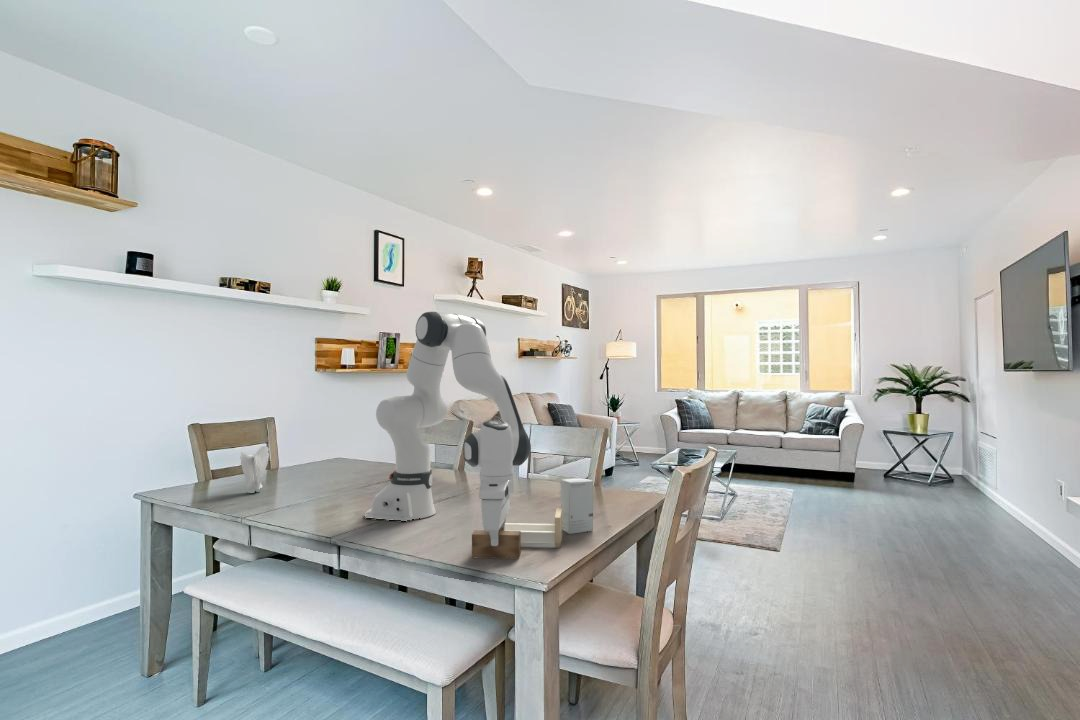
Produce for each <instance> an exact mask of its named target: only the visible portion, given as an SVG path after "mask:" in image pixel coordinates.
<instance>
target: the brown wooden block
mask: <svg viewBox="0 0 1080 720" xmlns="http://www.w3.org/2000/svg"><path fill="white" fill-rule="evenodd" d="M498 537H499V544H498V546H492V545H491V538H490V534H489V532H486V531H485V530H484V529H482V530H481V529H475V530H474V531H473V532H472V533H471V558H472V557H473V559H475V558H474V557H477V558H478V559H512V560H513V559H518V560H519V559H520V557H521V555H522V553H521V552H522V551H521V548H522V547H521V531H499V532H498ZM477 558H476V559H477Z"/></svg>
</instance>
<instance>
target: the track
mask: <svg viewBox="0 0 1080 720" xmlns="http://www.w3.org/2000/svg"><path fill="white" fill-rule="evenodd" d="M555 510H556V511H555V515H554V523H527V522H526V523H523V522H521V523H516V522H514V523H513V522H511V523H510V522H505V531H521V548H545V549H546V548H550V549H551V548H552V549H554V548H555V549H556V548H557V549H559V548H560V549H561V547H562V541H563V530H562V508H561V507H556V509H555Z"/></svg>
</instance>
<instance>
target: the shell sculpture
mask: <svg viewBox="0 0 1080 720" xmlns="http://www.w3.org/2000/svg"><path fill="white" fill-rule="evenodd" d="M269 449H270V448H269V447H268V446H267V445H261V447H259V449H258V450H257V452H256V453H253V454H247V453H246V452H244V451H241V452H240V458H239V459H240V465H241V469H242V472H243V475H244V478H245V479H244V480H245V481H246V488H245V490H246V489H247V490H252V489H254V490H256V489H260V488H262V487H263V488H264V486H263V485H262V480H263V478H264V475H265V473H266V468H267V465H268V463H269V457H270V453H269V451H270V450H269ZM254 487H255V488H254Z"/></svg>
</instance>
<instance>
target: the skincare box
mask: <svg viewBox="0 0 1080 720" xmlns="http://www.w3.org/2000/svg"><path fill="white" fill-rule="evenodd" d="M560 508H562V531H563V532H565V533H566V534H567V535H575V534H580V533H586V532H587V531H588V532H593V531H594V480H592V479H588V478H585V477H580V478H579V477H577V478H565V479H560Z"/></svg>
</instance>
